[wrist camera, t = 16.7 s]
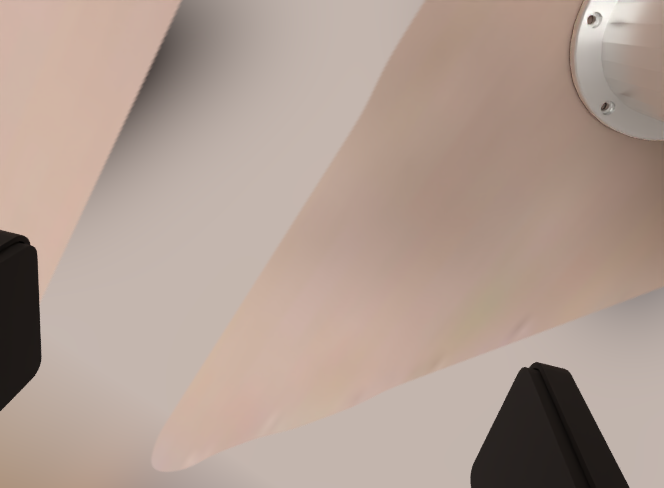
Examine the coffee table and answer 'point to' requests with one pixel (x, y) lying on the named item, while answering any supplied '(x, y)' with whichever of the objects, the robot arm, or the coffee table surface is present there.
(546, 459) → the robot arm
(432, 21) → the coffee table surface
